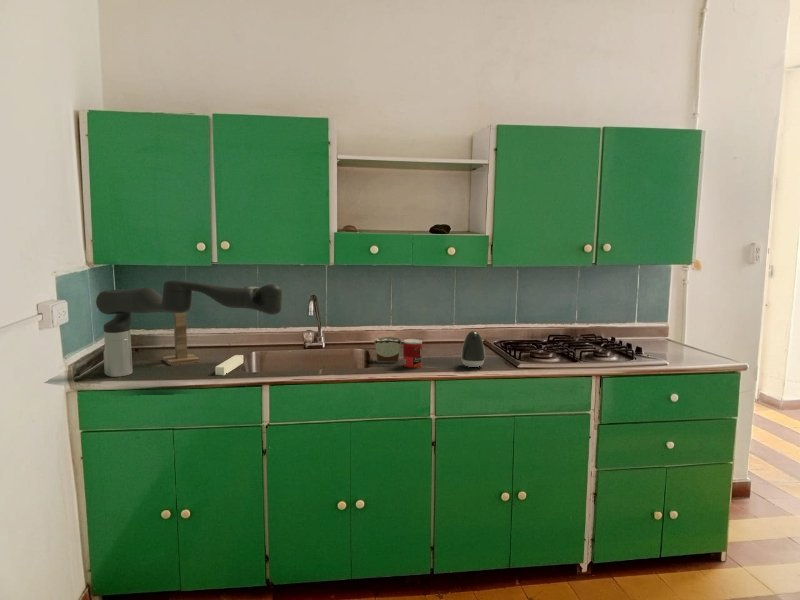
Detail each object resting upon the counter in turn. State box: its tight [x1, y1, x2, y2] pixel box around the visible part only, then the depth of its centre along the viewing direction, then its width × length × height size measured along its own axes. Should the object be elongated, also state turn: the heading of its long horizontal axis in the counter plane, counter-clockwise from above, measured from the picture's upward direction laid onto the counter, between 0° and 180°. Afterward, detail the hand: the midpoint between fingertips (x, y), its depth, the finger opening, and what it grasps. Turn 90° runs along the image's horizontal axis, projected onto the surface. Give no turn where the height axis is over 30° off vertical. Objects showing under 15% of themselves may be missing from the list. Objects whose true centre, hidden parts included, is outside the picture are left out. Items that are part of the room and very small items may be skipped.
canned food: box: [402, 338, 423, 369], centre depth 240 cm, size 8×8×11 cm
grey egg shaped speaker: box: [460, 330, 486, 368], centre depth 240 cm, size 10×10×15 cm
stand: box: [163, 291, 201, 367], centre depth 244 cm, size 12×12×32 cm
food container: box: [373, 336, 403, 363], centre depth 250 cm, size 12×6×10 cm, turn 92°
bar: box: [214, 354, 244, 376], centre depth 234 cm, size 21×4×4 cm, turn 175°
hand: (236, 294), depth 225 cm, fingers open, 8 cm apart
